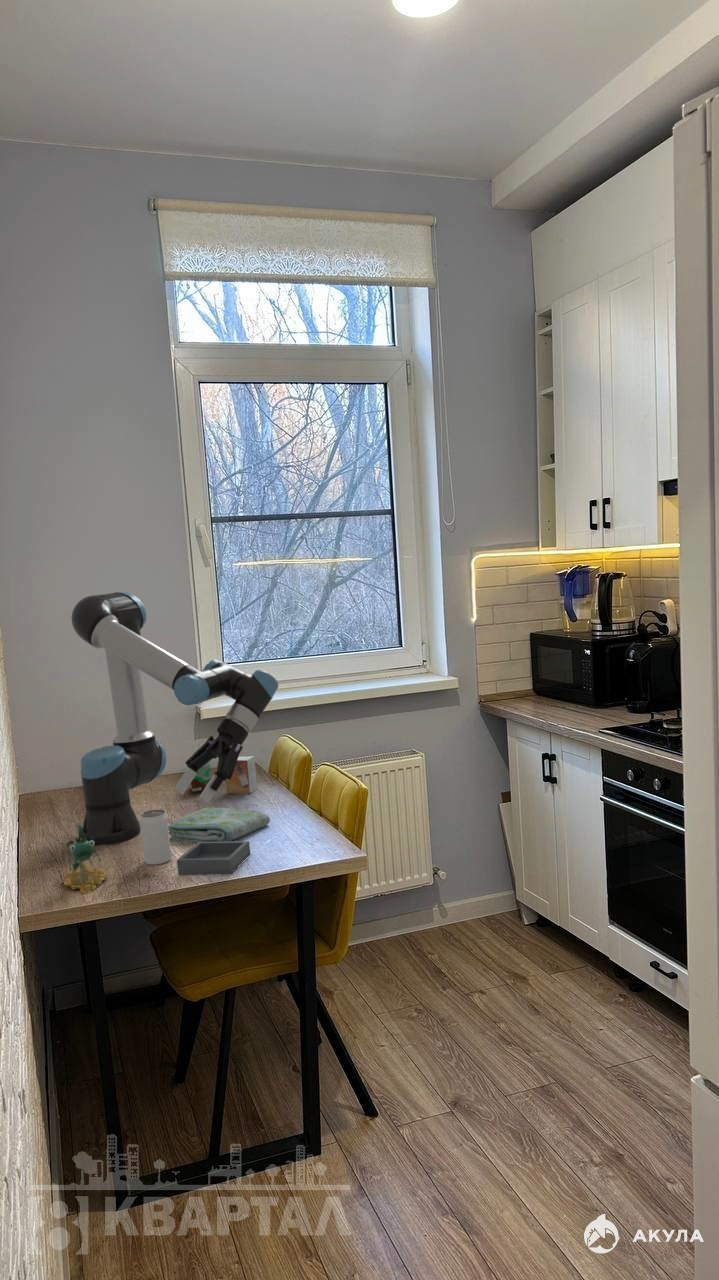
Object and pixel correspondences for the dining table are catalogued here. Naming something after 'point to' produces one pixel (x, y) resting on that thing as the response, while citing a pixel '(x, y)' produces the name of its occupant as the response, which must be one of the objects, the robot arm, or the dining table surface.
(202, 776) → the food container
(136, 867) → the dining table surface
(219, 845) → the tray
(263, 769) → the dining table surface
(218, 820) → the towel
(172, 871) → the dining table surface
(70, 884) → the frog figurine
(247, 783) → the small box
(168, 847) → the can
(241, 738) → the robot arm
